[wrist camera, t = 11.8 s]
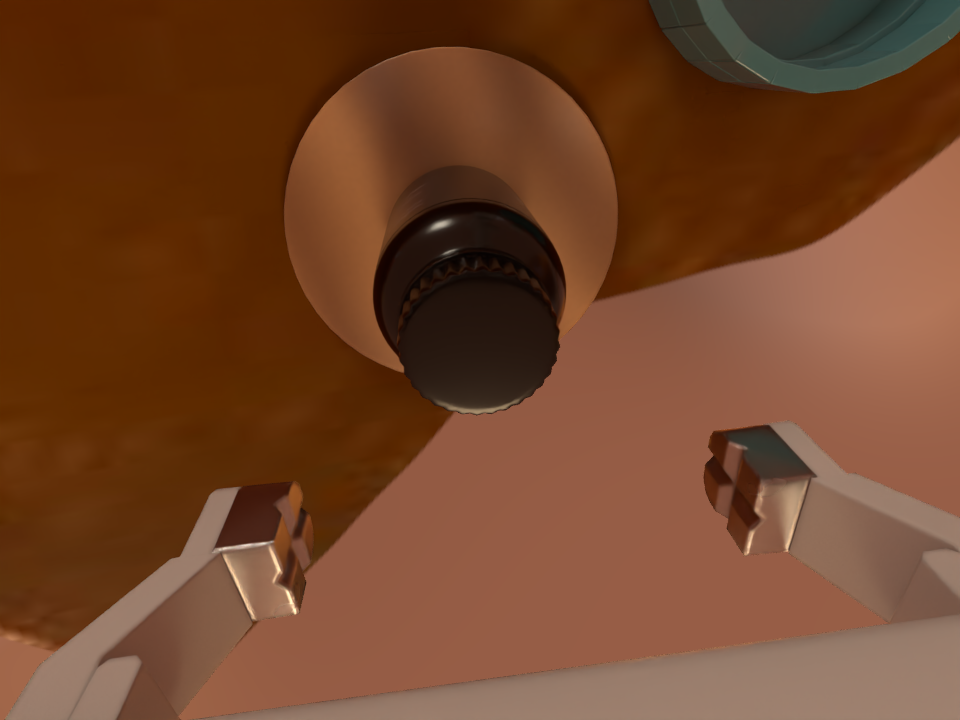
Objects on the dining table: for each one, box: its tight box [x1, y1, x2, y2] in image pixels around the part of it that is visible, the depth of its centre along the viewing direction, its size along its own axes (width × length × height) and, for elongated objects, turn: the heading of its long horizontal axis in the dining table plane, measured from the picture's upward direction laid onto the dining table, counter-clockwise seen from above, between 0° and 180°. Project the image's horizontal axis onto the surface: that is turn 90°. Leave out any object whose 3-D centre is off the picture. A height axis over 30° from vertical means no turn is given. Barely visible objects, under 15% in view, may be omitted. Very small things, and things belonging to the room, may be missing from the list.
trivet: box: [284, 47, 618, 373], centre depth 26 cm, size 16×16×1 cm
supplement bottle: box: [373, 165, 566, 415], centre depth 21 cm, size 7×7×12 cm
